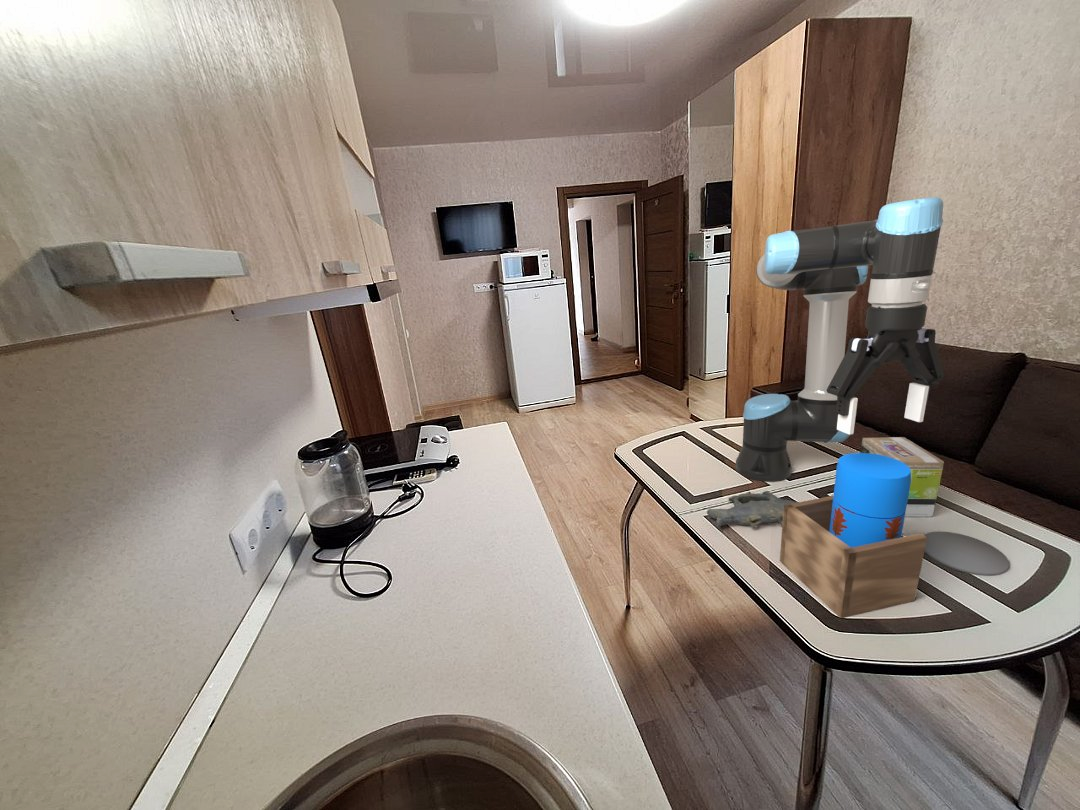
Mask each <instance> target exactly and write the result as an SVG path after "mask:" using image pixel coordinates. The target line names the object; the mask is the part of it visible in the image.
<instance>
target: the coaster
mask: <svg viewBox="0 0 1080 810" xmlns="http://www.w3.org/2000/svg"><path fill="white" fill-rule="evenodd" d="M923 535H924V536H926V537H927V541H926V546H925V551H924V554H926V555H927V556H928V557H929V558H931V559H932V560H934V561H936V562H937V563H939V564H940V565H943V566H946V567H948V568H949V569H953V570H955V571H958V572H963V573H966V574H971V575H975V576H976V575H977V576H985V577H986V576H987V577H990V576H991V577H992V576H1000V575H1002V574H1005V573H1007V571H1008V569H1009V567H1010V561H1009V559H1008V557H1007V555H1005V554H1004V553H1003V552H1002V551H1000V550H999V549H998V548H997V547H994V546H993V545H991V544H989V543H987V542H985V541H982V540H980V539H978V538H975V537H972V536H969V535H965V534H961V533H959V532H957V533H956V532H952V531H930V532H926V533H924V534H923Z"/></svg>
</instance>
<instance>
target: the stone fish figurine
mask: <svg viewBox="0 0 1080 810" xmlns="http://www.w3.org/2000/svg"><path fill="white" fill-rule="evenodd" d="M728 501H729V502H730V503H733V506H732V507H730V508H711V509H710V508H709V509H707V511H706V514H707V515H708V517H710V518H712V519H715V520H716V521H715V524H716V526H717V527H721V526H726V525H728V524H732V523H733V524H737V525H744V526H751V527H752V528H754V527H757V526H763V525H772V524H779V525H780V526H782V523H783V509H784V505H788V504H793V503H798V502H799V501H795V500H790V499H782V498H780V497H778V496H777V495H776V494H773V493H772V492H770V491H768V490H765V491H763V492H762V493H756V492H755V493H753V492H751V491H747V492H746V493H740V494H738V495H731V496H730V497H728Z"/></svg>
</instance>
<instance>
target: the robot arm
mask: <svg viewBox="0 0 1080 810" xmlns="http://www.w3.org/2000/svg"><path fill="white" fill-rule="evenodd" d="M943 212H944V201H943V199H942V198H941V197H938V196H937V197H935V196H933V197H924V198H915V199H909V200H908V199H907V200H903V201H897V202H891V203H887V204H885V205H883V206H882V207H881V208H880V210H879V213H878V216H877V219H875V220H867V221H859V222H852V223H846V224H839V225H838V224H837V225H831V226H826V227H825V226H823V227H818V228H807V229H799V230H786V231H783V232H779V233H773V234H771V235H769V236H768V237H767V239H766V241H765V247H764V254H763V255H762V256H761V257H760V258H759V260H758V262H757V264H756V266H755V267H756V268H755V273H756V277H757V279H758V280H759V282H760V283H761V284H762V285H764V286H766V287H768V288H771V289H775V290H781V291H798V290H800V291H801V290H803V297H804V299H806V301H808V303H809V307H808V309H809V310H808V323H807V324H808V326H807V340H806V341H807V343H806V345H807V346H806V356H805V357H806V359H805V360H806V362H805V363H806V364H805V377H804V388H803V389H802V390H801V391H800V392H799V393H797V400H791V399H790V397H789V396H788V395H785V394H782V393H780V394H779V393H765V394H759V395H756V396H753V397H751V398H749V399H747V401H746V402H745V403H744V408H743V413H742V418H743V430H742V445H741V448H740V450H739V452H738V456H737V458H736V459H735V469H736V471H737V473H739V474H740V475H741V476H743V477H745V478H748V479H751V480H755V481H759V482H779V481H784V480H787V479H788V478H791V476H792V470H793V467H792V465H793V464H792V462H791V459H790V455H789V453H788V450H787V442H792V441H793V442H808V443H809V442H813V443H815V442H816V443H823V444H827V443H843V442H844V441H847V439H848V438H849V437H850V435H854V432H855V423H856V416H857V408H858V402H859V401H858V399H859V398H857V397H855V395H856V394H857V393H858V391H859V390H860V389H861V387H862V386H863V385H864V384H865V383H866V382H867V380H868V379H869V378H870V376H872V374H873V373H874V371H876V369H877V368H878V367H881V366H883V365H884V363H890V362H893V361H900V362H901V364H902V365H903V366H904V368H905V369H906V371H907V372H908V373H909V375H910V377H911V378H912V379H913V380H914V382H910V383H909V386H908V391H907V398H906V403H905V405H906V406H905V411H904V416H903V417H904V419H907V420H911V421H914V422H917V423H922V422H924V417H925V413H926V412H925V411H926V408H927V407H926V406H927V402H928V400H929V398H930V394H931V393H930V392H931V387H932V386H933V387H937V386H939V384H940V381H942V380H944V378H945V373H944V372H945V371H944V369H943V366H942V365H943V364H942V362H941V358H940V354H939V351H938V347H937V345H936V334H937V333H936V329H934V328H926V327H925V328H924V326H925V324H926V317H927V311H928V306H927V304H925V302H926V301H928V300H929V297H930V289H931V284H932V283H931V282H932V277H933V273H934V267H935V262H936V256H937V251H938V245H939V240H940V239H939V238H940V233H941V227H942V226H943V223H944V218H943V215H944V214H943ZM869 266H871V274H870V282H869V283H870V284H869V290H868V298H867V302H868V303H869V304H871V305H869V306H868V307H867V308H866V315H865V323H864V326H865V328H866V329H867V331H868V334H867V336H866V338H858V337H857V338H856V337H851V338H850V339H849V340H848V343H847V344H848V345H847V349H846V340H847V338H846V337H847V330H848V329H847V326H848V315H849V302H850V299H851V298H852V297H853V296H854V295H855V294H857V291H858V286H862V285H864V284H865V283H866V280H867V277H868V274H869V273H868V271H869ZM845 352H846V353H845Z"/></svg>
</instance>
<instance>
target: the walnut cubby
mask: <svg viewBox="0 0 1080 810" xmlns="http://www.w3.org/2000/svg"><path fill="white" fill-rule="evenodd" d="M797 502H798V503H793V504H788V505H784V509H783V523H782V525H781V539H780V552H779V554H780V555H779V562H780V563H781V564H782V565H783V566H784V567H785V568H786V569H787V570H788V571H789V572H790V573H792V574H793V575H794V577H796V578H797V579H798V580H799V581H800V582H801V583H802V584H803V585H804V586H806V588H807V589H809V590H810V591H811V592H812V593H813V594H814V595H815V596H816V597H817V598H818V599H820V600H821V601H822V602H823V604H825V605H826V606H827V607H828V608H829V609H830V610H831V611H832V612H833V613H834V614H836V616H837V617H839V618H840V619H845V618H848V617H853V616H855V615H856V616H857V615H861V614H864V613H869V612H873V611H878V610H879V611H880V610H882V609H887V608H893V607H896V606H900V605H905V604H910V603H913V602H915V600H916V596H917V590H918V584H919V580H920V575H921V571H922V565H923V560H924V554H925V552H924V551H925V546H926V541H927V537H926V536H924V534H922V533H916V534H911V535H910V534H909V535H908V536H907V535H905V536H901V537H900V538H896V539H891V540H886V541H881V542H876V543H872V544H867V545H862V546H857V547H852V548H851V547H849V546H848V545H847V544H845V543H844V542H843V541H841V540H840V539H838V538H837V537H836V536H834V535H833V534H831V533H830V532H829V530H830V521H831V512H832V504H833V495H830V496H825V497H820V498H814V499H809V500H804V501H797Z"/></svg>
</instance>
